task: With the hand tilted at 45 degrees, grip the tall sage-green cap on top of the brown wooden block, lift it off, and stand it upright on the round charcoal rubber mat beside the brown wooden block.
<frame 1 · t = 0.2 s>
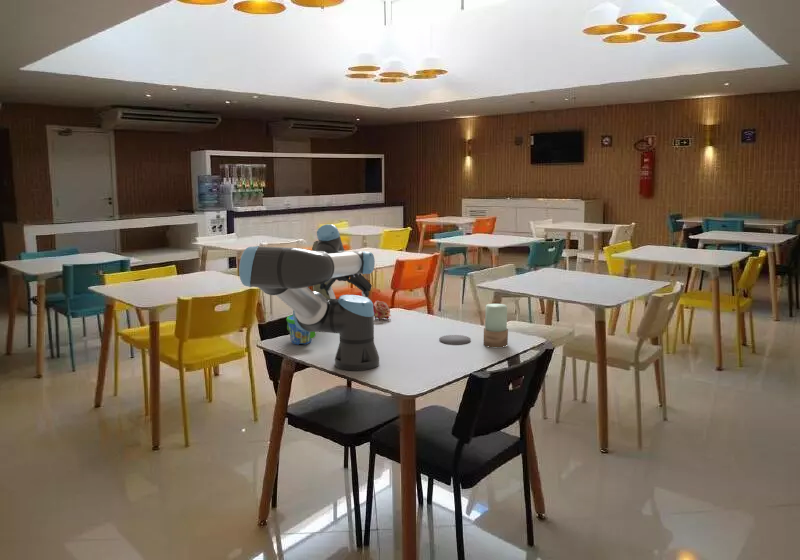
hand: (350, 301, 252), 15 cm above the table, tool tilted 35°, fingers open, 13 cm apart
flower: (382, 319, 288), on the table
mat: (454, 340, 253), on the table
brown wooden block: (495, 344, 247), on the table
cap: (495, 329, 246), point 6 cm above the table, touching brown wooden block
snack cup: (301, 343, 251), on the table
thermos: (322, 321, 285), on the table
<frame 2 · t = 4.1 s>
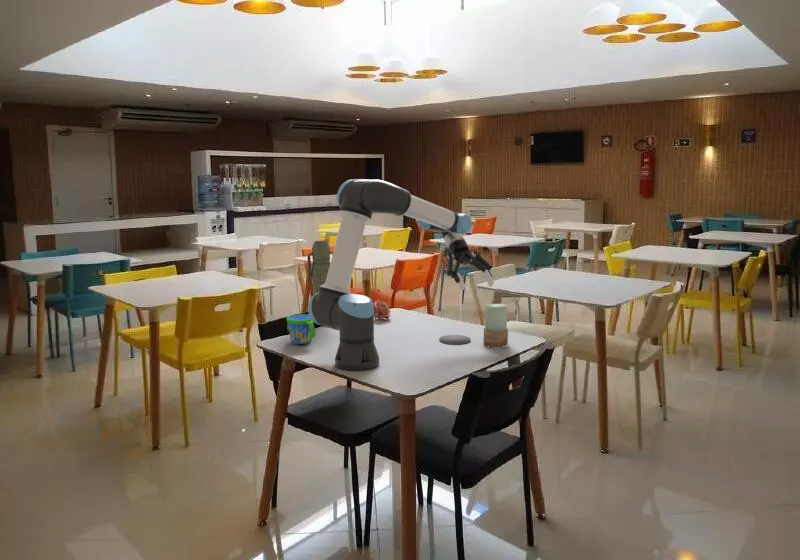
hand: (478, 286, 254), 20 cm above the table, tool tilted 45°, fingers open, 13 cm apart
nothing on the table moved.
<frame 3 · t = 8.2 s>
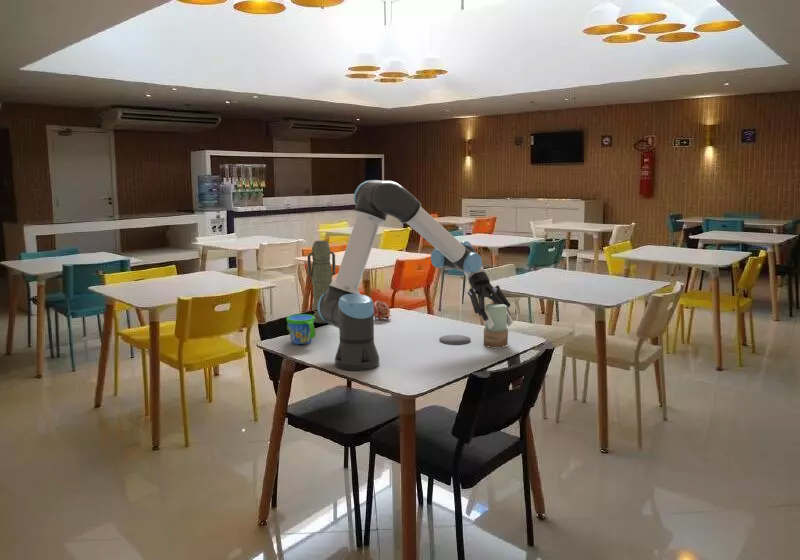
hand: (501, 325, 242), 8 cm above the table, tool tilted 45°, fingers closed on cap, 8 cm apart
cap: (495, 329, 246), point 6 cm above the table, touching brown wooden block, gripper
everything else where it was.
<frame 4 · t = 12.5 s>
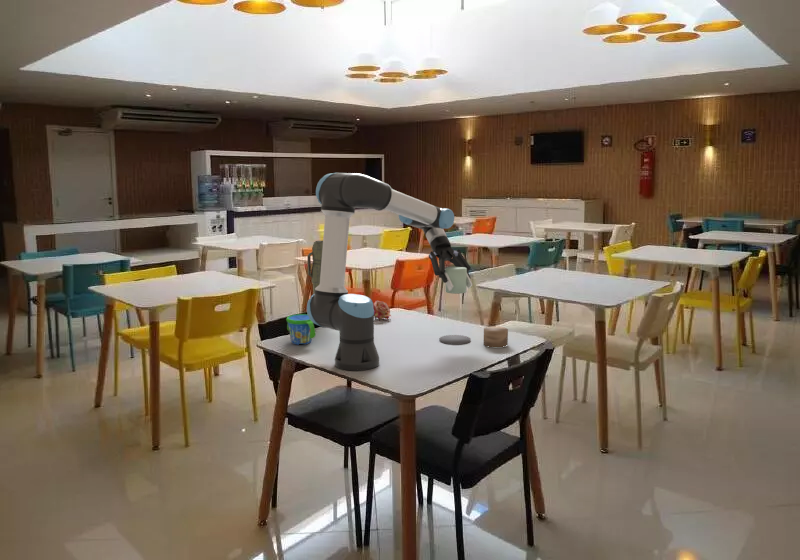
hand: (460, 287, 247), 21 cm above the table, tool tilted 45°, fingers closed on cap, 8 cm apart
cap: (455, 291, 250), point 19 cm above the table, touching gripper
everything else where it was.
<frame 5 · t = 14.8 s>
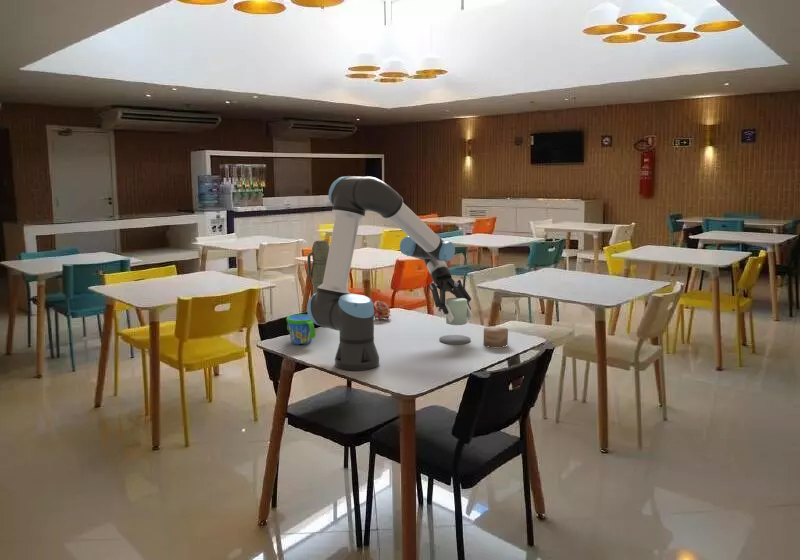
hand: (461, 319, 249), 9 cm above the table, tool tilted 45°, fingers closed on cap, 8 cm apart
cap: (456, 322, 253), point 7 cm above the table, touching gripper
everything else where it was.
when the fingers open (4 cm above the table, at t = 16.7 s): cap drops 1 cm, resting on mat.
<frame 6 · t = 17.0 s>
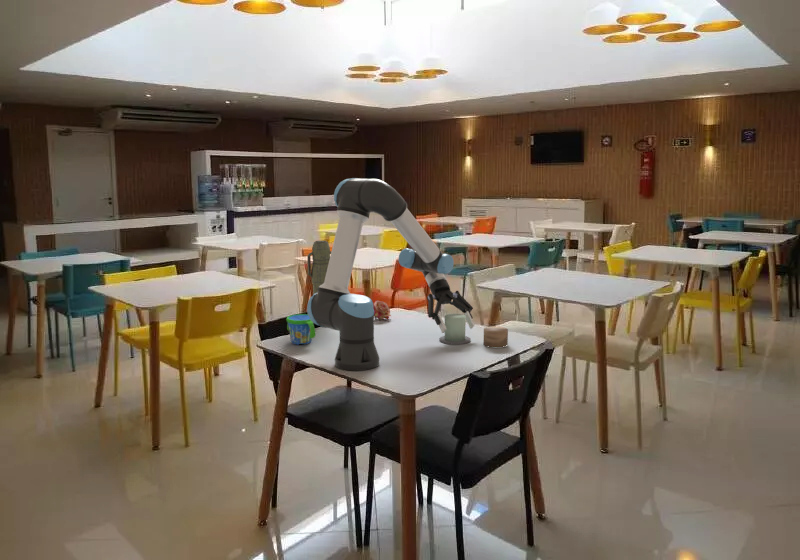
hand: (458, 329, 250), 5 cm above the table, tool tilted 45°, fingers open, 12 cm apart
cap: (454, 338, 253), point 1 cm above the table, touching mat
everything else where it was.
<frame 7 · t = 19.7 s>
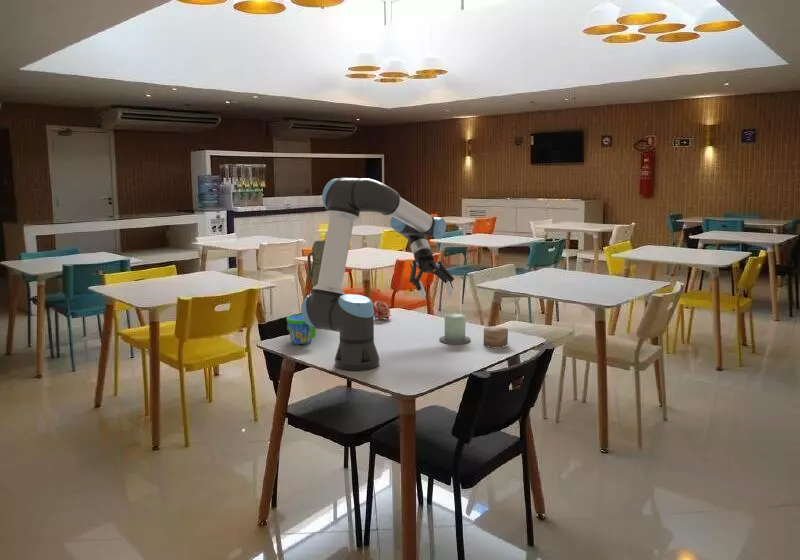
hand: (438, 296, 258), 16 cm above the table, tool tilted 40°, fingers open, 13 cm apart
nothing on the table moved.
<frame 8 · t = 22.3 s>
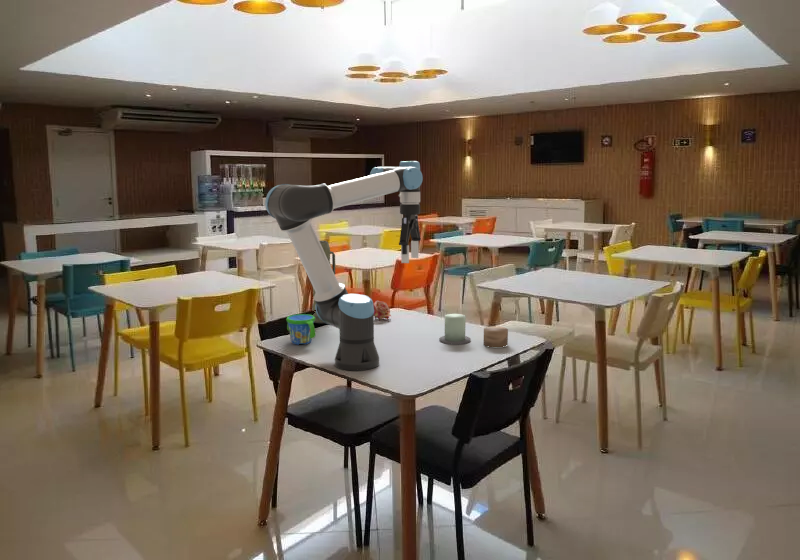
hand: (410, 260, 245), 32 cm above the table, tool pointing down, fingers open, 13 cm apart
nothing on the table moved.
at the end: cap inside the target area on the mat (0.1 cm from its centre), point 0.6 cm above the mat's base; cap tilted 0°; the gripper is holding nothing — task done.
